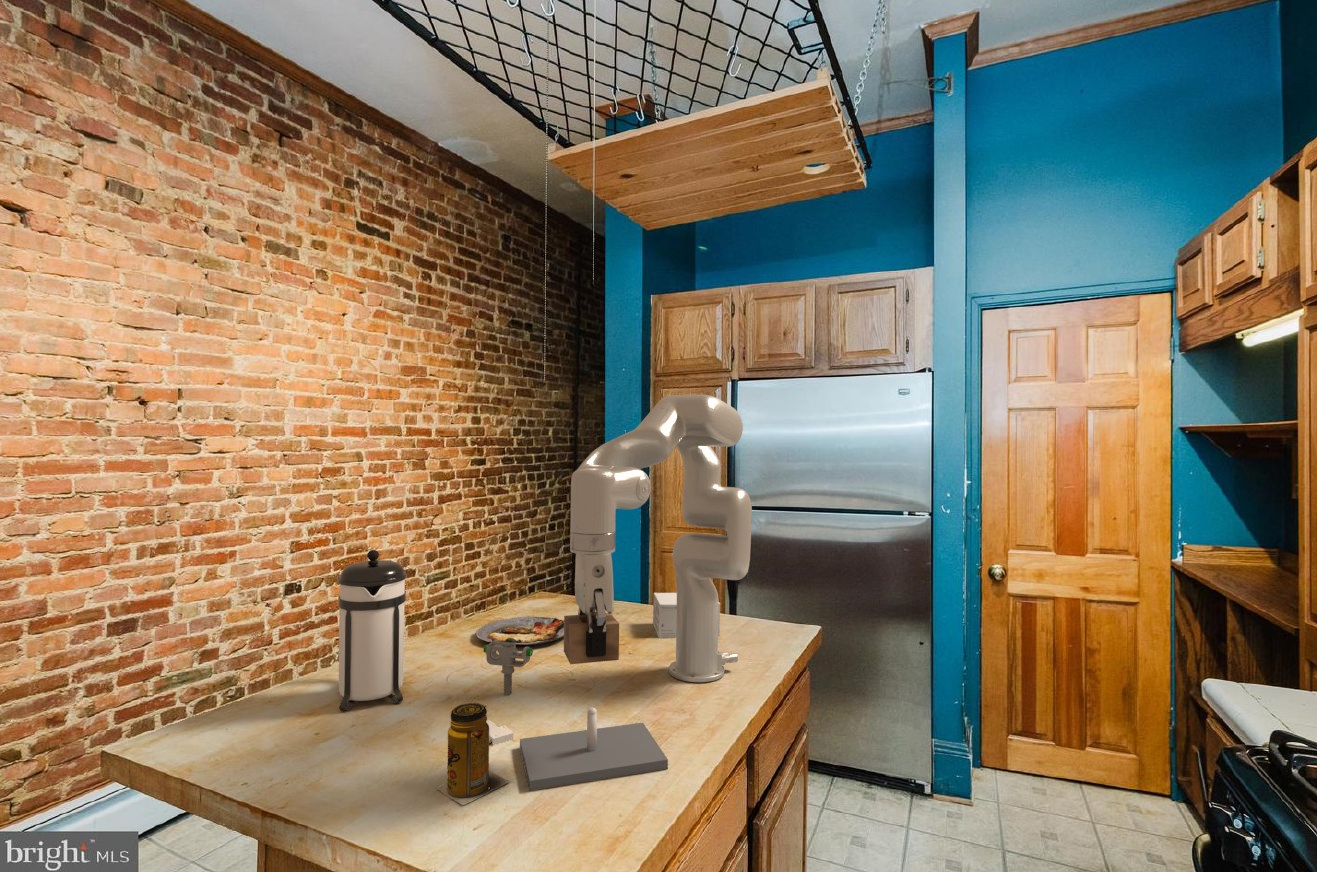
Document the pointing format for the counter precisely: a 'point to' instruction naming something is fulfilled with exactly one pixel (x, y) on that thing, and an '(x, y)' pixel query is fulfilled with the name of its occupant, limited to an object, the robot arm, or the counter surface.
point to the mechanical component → (507, 660)
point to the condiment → (469, 755)
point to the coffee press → (371, 630)
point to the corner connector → (499, 733)
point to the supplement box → (668, 614)
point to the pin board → (590, 754)
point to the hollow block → (577, 639)
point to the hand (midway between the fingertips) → (591, 647)
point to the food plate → (522, 630)
